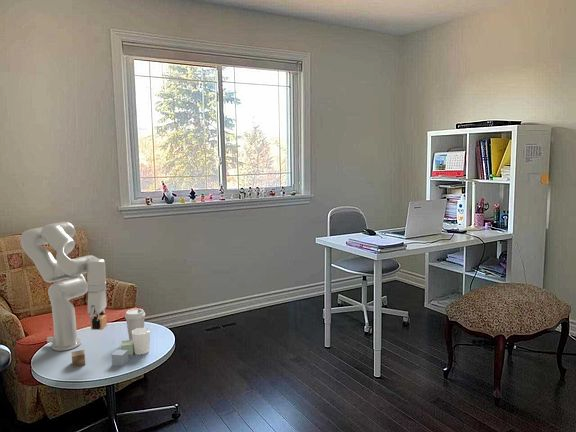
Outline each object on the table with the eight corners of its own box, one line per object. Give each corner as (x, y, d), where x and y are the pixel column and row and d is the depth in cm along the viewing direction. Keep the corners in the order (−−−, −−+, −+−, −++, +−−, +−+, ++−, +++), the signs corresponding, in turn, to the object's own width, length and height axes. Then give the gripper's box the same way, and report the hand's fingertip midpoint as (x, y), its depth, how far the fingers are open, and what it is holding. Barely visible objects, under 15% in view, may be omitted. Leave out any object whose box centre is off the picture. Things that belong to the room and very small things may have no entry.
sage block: (121, 356, 204) (120, 345, 203) (122, 351, 209) (122, 341, 208) (133, 354, 205) (132, 344, 204) (134, 350, 210) (133, 339, 209)
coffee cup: (140, 345, 214) (138, 315, 212) (122, 344, 216) (120, 314, 214) (150, 337, 223) (149, 308, 221) (132, 336, 225) (131, 307, 223)
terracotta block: (91, 329, 198) (90, 318, 197) (95, 325, 203) (95, 314, 202) (102, 329, 198) (101, 319, 197) (106, 325, 203) (106, 314, 202)
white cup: (135, 348, 212) (133, 328, 210) (152, 347, 212) (151, 327, 211) (130, 355, 204) (129, 334, 202) (148, 355, 205) (147, 334, 203)
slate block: (112, 365, 195) (111, 354, 194) (118, 360, 200) (117, 349, 199) (122, 366, 194) (122, 355, 194) (128, 360, 199) (127, 350, 198)
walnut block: (72, 367, 193) (71, 356, 193) (72, 362, 198) (71, 351, 197) (85, 365, 196) (84, 354, 195) (84, 360, 200) (84, 349, 199)
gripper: (96, 280, 206) (98, 318, 209) (79, 293, 189) (82, 334, 192) (112, 281, 206) (114, 319, 209) (97, 293, 189) (99, 334, 192)
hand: (98, 325), depth 201 cm, fingers closed on terracotta block, 4 cm apart
